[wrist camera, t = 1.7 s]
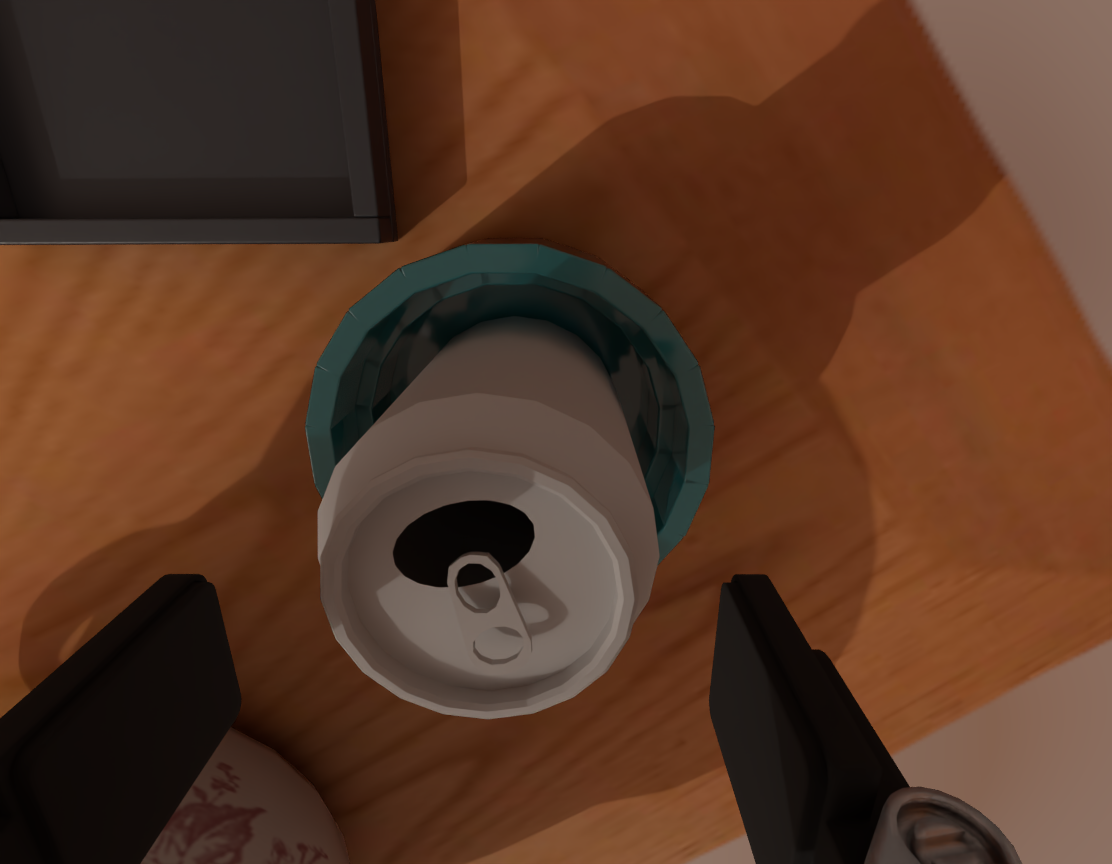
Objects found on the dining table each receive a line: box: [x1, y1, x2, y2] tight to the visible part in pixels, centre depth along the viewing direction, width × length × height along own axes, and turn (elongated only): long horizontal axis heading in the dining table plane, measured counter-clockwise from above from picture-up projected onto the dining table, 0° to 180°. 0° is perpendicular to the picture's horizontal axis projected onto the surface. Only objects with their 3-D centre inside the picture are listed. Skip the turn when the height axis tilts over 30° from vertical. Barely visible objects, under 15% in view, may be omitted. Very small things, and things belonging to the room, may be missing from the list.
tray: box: [0, 0, 398, 245], centre depth 17 cm, size 14×14×2 cm
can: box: [318, 316, 660, 719], centre depth 17 cm, size 8×8×12 cm
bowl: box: [305, 238, 715, 566], centre depth 20 cm, size 13×13×5 cm
